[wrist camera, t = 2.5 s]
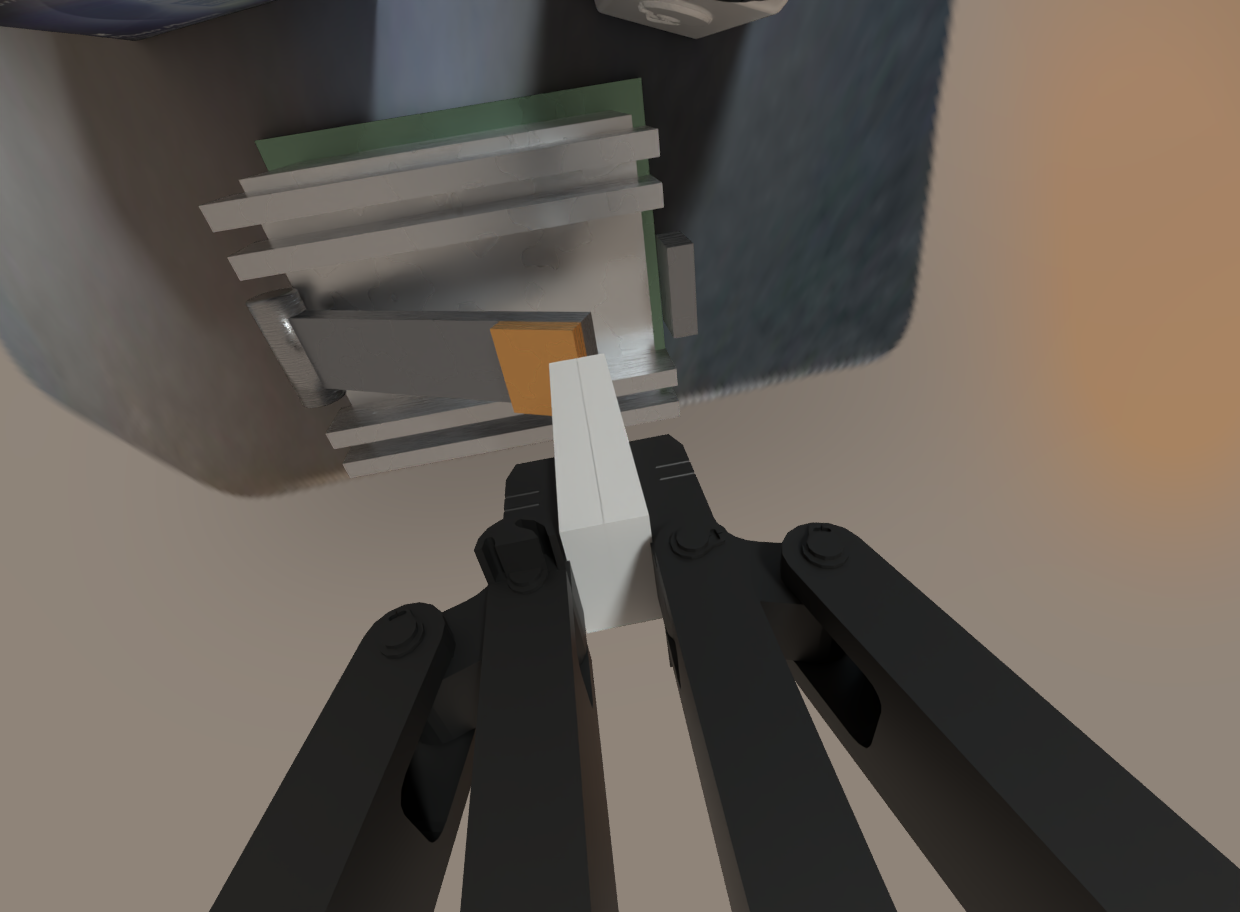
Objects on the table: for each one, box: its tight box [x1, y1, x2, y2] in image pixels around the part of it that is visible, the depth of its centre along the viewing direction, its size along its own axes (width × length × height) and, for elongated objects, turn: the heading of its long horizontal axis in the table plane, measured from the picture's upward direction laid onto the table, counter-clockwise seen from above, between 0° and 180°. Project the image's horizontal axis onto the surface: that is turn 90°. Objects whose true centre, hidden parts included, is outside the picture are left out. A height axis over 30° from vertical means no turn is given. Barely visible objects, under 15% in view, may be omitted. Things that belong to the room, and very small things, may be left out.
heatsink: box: [199, 78, 698, 478], centre depth 24 cm, size 14×17×9 cm
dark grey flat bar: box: [246, 288, 598, 416], centre depth 19 cm, size 14×4×2 cm, turn 97°
